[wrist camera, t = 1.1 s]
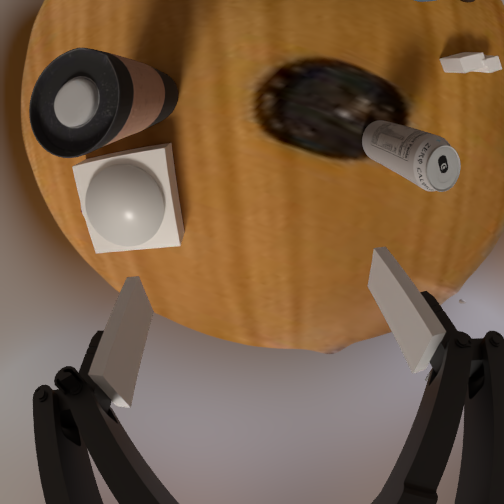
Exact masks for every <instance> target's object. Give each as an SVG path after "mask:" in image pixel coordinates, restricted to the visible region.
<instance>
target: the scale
mask: <svg viewBox="0 0 504 504" xmlns="http://www.w3.org/2000/svg"><path fill="white" fill-rule="evenodd" d="M72 167H73V172H74V177H75V181H76V185H77V189H78V194H79V198H80V201H81V212H82V213H83V215H84V217H85V220H86V223H87V226H88V230H89V233H90V236H91V239H92V243H93V246H94V249H95V252H96V253H105V252H116V251H127V250H139V249H150V248H162V247H174V246H181V242H182V239H183V236H184V233H185V231H184V226H183V220H182V214H181V207H180V201H179V195H178V188H177V181H176V174H175V167H174V159H173V151H172V143H166V144H160V145H153V146H147V147H142V148H136V149H131V150H125V151H120V152H116V153H111V154H106V155H102V156H97V157H93V158H89V159H85V160H83V161H82V162H80V163H78V164H76V165H74V166H72Z"/></svg>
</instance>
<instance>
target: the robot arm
mask: <svg viewBox="0 0 504 504" xmlns="http://www.w3.org/2000/svg"><path fill="white" fill-rule="evenodd" d="M415 1H420V2H425V1H435V0H415ZM368 288H369V290H370V292H371V293H372V295H373V297H374V299H375V301H376V302H377V304H378V306H379V308H380V310H381V312H382V314H383V315H384V317H385V319H386V321H387V323H388V325H389V327H390V329H391V331H392V333H393V335H394V336H395V338H396V341H397V343H398V344H399V346H400V349H401V351H402V353H403V355H404V357H405V359H406V361H407V363H408V365H409V367H410V370H411V372H412V374H414V373H417V372H419V371H422V370H425V369H426V367H427V366H428V364H429V362H430V363H431V365H432V367H433V368H432V369H431V371H430V372H429V374H428V376H427V377H426V379H425V380H428V382H427V385H426V388H425V391H424V395H423V398H422V401H421V404H420V406H419V409H418V412H417V415H416V418H415V420H414V423H413V425H412V428H411V431H410V433H409V435H408V438H407V440H406V443H405V445H404V447H403V449H402V452H401V454H400V456H399V458H398V460H397V462H396V464H395V466H394V468H393V470H392V472H391V474H390V476H389V478H388V480H387V482H386V484H385V485H384V487H383V489H382V491H381V492H380V494H379V495H378V496H377V497H376V499H375V500H374V501H373V502H372V503H371V504H436V503H437V499H438V496H437V493H436V490H437V487H438V485H439V482H440V480H441V477H442V475H443V472H444V470H445V467H446V464H447V462H448V459H449V456H450V453H451V450H452V447H453V444H454V440H455V437H456V434H457V430H458V427H459V423H460V419H461V415H462V410H463V406H464V436H463V450H462V460H461V468H460V475H459V482H458V488H457V493H456V499H455V504H504V338H503V337H502V335H501V334H499V333H498V332H496V331H489V332H488V333H486V335H485V337H484V338H482V339H471V337H470V336H469V335H468V334H466V333H464V332H459V331H457V330H456V328H455V326H454V325H453V323H452V322H451V320H450V319H449V318H448V316H447V315H446V313H445V312H444V311H443V309H442V307H441V306H440V305H439V303H438V302H437V300H436V299H435V298H434V296H432V295H431V294H430V293H428V292H427V291H424V292H419V290H418V289H417V287H416V286H415V285H414V283H413V282H412V281H411V279H410V278H409V276H408V275H407V274H406V272H405V271H404V270H403V268H402V267H401V266H400V264H399V263H398V262H397V261H396V259H395V258H394V257H393V255H392V254H391V253H390V252H389V250H388V249H387V248H386V247H379V248H374V251H373V258H372V264H371V270H370V276H369V282H368ZM153 313H154V311H153V309H152V307H151V304H150V302H149V300H148V297H147V295H146V293H145V290H144V288H143V285H142V283H141V280H140V278H139V276H136V277H127V279H126V281H125V283H124V285H123V287H122V290H121V292H120V294H119V296H118V299H117V301H116V303H115V306H114V308H113V310H112V313H111V315H110V317H109V320H108V322H107V325H106V327H105V330H104V331H97V333H96V334H95V335H94V336H93V337H92V339H91V342H90V344H89V348H88V349H87V352H86V354H85V357H84V360H83V363H82V365H81V368H80V370H79V373H78V372H77V370H76V369H75V368H73V367H71V366H66V367H64V368H62V369H61V370H60V371H58V373H57V374H56V376H55V380H54V382H55V385H56V386H57V387H58V388H59V389H57V390H52V389H51V388H50V387H49V386H48V385H41V386H40V387H38V388H37V389H36V390H35V392H34V394H33V417H34V418H33V419H34V433H35V444H36V453H37V460H38V466H39V472H40V479H41V484H42V488H43V493H44V498H45V502H46V504H103V502H102V499H101V496H100V493H99V490H98V487H97V484H96V480H95V477H94V473H93V470H92V466H91V463H90V459H89V455H88V451H89V453H90V455H91V457H92V459H93V461H94V462H95V464H96V466H97V468H98V470H99V472H100V473H101V475H102V477H103V479H104V480H105V482H106V484H107V485H108V487H109V489H110V490H111V492H112V493H113V495H114V497H115V498H116V500H117V501H118V503H119V504H179V503H178V502H177V501H176V500H175V499H174V497H173V496H172V495H171V494H170V493H169V491H168V490H167V489H166V488H165V487H164V485H163V484H162V483H161V481H160V480H159V479H158V478H157V476H156V475H155V474H154V473H153V471H152V470H151V468H150V467H149V466H148V464H147V463H146V462H145V460H144V459H143V457H142V456H141V454H140V453H139V451H138V450H137V449H136V447H135V445H134V444H133V442H132V441H131V439H130V438H129V436H128V435H127V433H126V432H125V430H124V428H123V427H122V425H121V424H120V422H119V420H118V418H117V417H116V415H115V413H114V411H113V410H112V408H111V407H110V405H111V401H112V402H113V403H114V404H115V405H116V406H119V407H131V403H132V399H133V394H134V389H135V385H136V380H137V375H138V371H139V367H140V363H141V359H142V354H143V350H144V346H145V342H146V339H147V335H148V331H149V327H150V324H151V320H152V316H153ZM87 449H88V450H87Z"/></svg>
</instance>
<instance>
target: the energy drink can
mask: <svg viewBox="0 0 504 504" xmlns="http://www.w3.org/2000/svg"><path fill="white" fill-rule="evenodd" d="M362 145H363V149H364V151H365V153H366V154H367V156H368V157H370V158H371V159H372V160H374V161H376V162H378V163H380V164H382V165H383V166H385V167H387V168H389V169H391V170H392V171H394V172H396V173H398V174H399V175H401V176H403V177H405V178H406V179H408V180H410V181H411V182H413V183H415V184H416V185H418V186H419V187H421V188H423V189H424V190H427V191H439V192H443V191H447V190H449V189H450V188H452V187H453V185H454V184H455V183H456V181H457V179H458V177H459V174H460V159H459V156H458V153H457V152H456V150H455V149H454V148H452V147H451V146H450V144H449V143H448V142H447V141H446V140H445V139H444V138H442V137H440V136H437V135H434V134H431V133H428V132H424V131H421V130H418V129H414V128H411V127H407V126H403V125H399V124H396V123H392V122H387V121H383V120H378V121H374V122H372V123H370V124H369V125H368V126H367V127H366V129H365V131H364V133H363V137H362Z"/></svg>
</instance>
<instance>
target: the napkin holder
mask: <svg viewBox="0 0 504 504" xmlns="http://www.w3.org/2000/svg"><path fill="white" fill-rule="evenodd" d="M440 61H441V64H442V67H443V69H444V72H453V73H467V72H470V71H475V72H486V73H491V72H494V71H498V70H501V69H502V67H501V63H500V60H499V57H498V56H489V55H484V54H483V53H482V52H463V53H459V54H455V55H451V56H447V57H443V58H440Z"/></svg>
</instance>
